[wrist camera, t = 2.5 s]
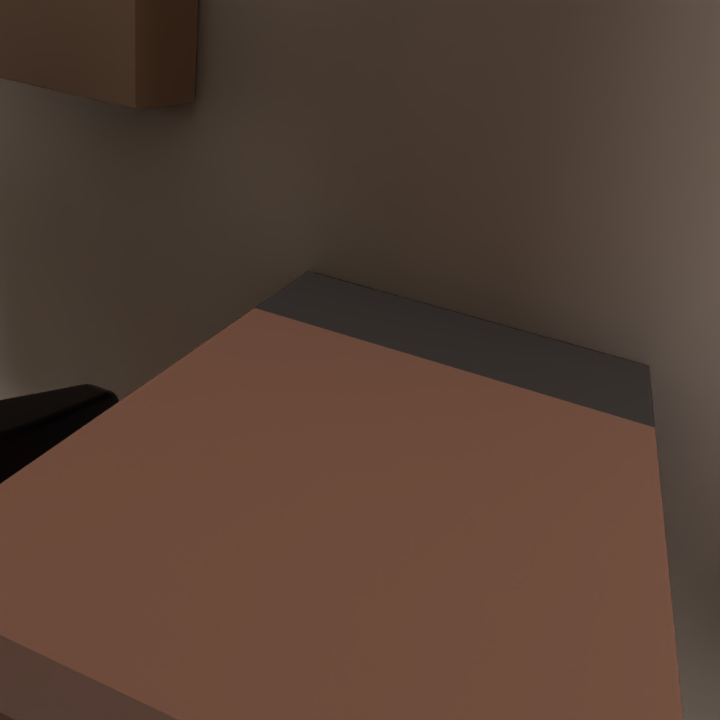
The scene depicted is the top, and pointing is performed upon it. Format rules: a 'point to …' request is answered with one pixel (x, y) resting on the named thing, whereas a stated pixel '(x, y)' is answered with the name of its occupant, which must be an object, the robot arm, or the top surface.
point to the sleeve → (348, 531)
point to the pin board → (103, 48)
